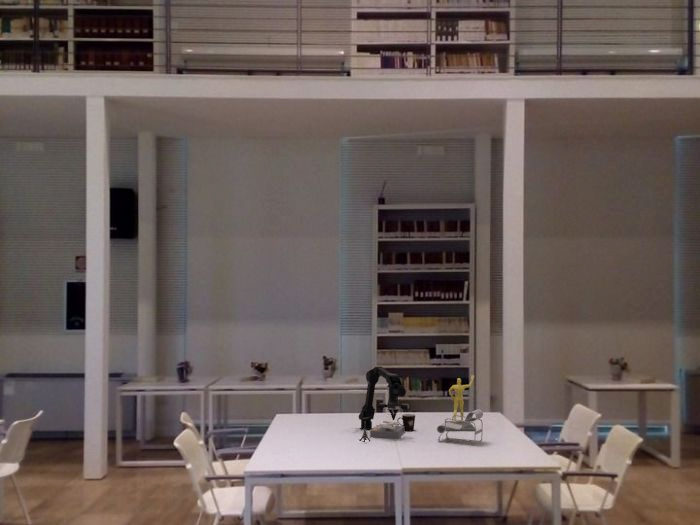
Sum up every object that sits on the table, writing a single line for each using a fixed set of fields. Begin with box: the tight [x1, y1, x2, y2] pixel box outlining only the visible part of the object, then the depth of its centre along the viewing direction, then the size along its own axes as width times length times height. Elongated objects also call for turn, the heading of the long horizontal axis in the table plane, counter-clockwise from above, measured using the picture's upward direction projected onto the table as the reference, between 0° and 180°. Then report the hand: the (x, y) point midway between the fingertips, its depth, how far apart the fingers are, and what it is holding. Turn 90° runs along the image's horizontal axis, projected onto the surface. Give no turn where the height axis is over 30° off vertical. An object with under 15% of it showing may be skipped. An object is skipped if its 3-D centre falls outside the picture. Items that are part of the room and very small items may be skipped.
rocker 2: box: [382, 419, 400, 426], centre depth 515 cm, size 10×4×1 cm, turn 76°
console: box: [369, 424, 406, 440], centre depth 509 cm, size 18×22×5 cm
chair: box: [436, 408, 484, 446], centre depth 486 cm, size 13×25×20 cm, turn 62°
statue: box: [446, 375, 475, 432], centre depth 531 cm, size 20×19×36 cm
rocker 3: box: [383, 421, 398, 426], centre depth 509 cm, size 10×4×1 cm, turn 77°
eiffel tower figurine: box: [358, 422, 371, 443], centre depth 489 cm, size 15×10×13 cm
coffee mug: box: [396, 413, 416, 432], centre depth 524 cm, size 12×9×10 cm
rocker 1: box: [378, 423, 397, 429], centre depth 502 cm, size 10×4×1 cm, turn 76°
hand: (393, 420), depth 501 cm, fingers closed
